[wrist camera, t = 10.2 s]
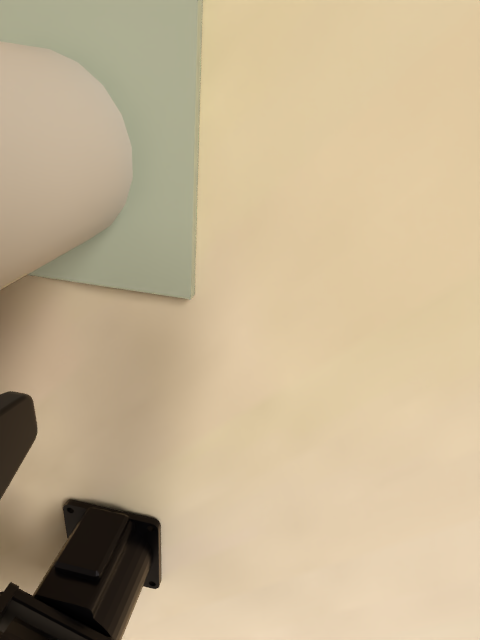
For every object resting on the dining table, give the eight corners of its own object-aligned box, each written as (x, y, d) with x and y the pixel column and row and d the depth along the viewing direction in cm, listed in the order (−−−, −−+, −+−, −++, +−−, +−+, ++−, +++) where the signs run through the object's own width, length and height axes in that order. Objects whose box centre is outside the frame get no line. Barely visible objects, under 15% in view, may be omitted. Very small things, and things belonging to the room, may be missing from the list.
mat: (194, 294, 22) (190, 299, 21) (-31, 260, 24) (-40, 264, 23) (203, -13, 16) (198, -17, 16) (-90, -27, 18) (-103, -30, 18)
